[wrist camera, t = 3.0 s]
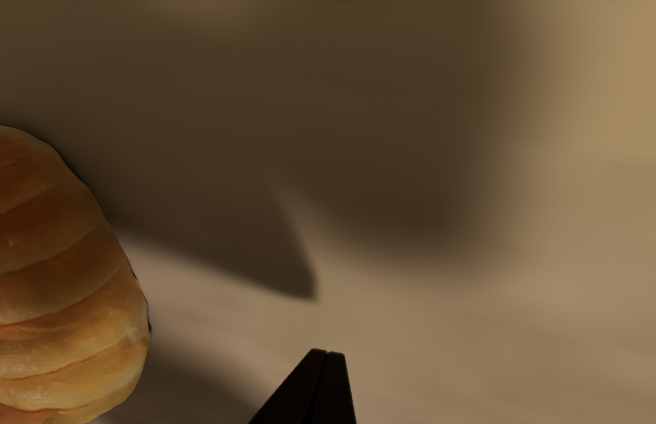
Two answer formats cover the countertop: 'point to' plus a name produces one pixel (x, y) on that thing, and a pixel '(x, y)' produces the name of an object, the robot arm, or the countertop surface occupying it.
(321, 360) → the robot arm
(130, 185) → the countertop surface
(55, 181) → the pastry
